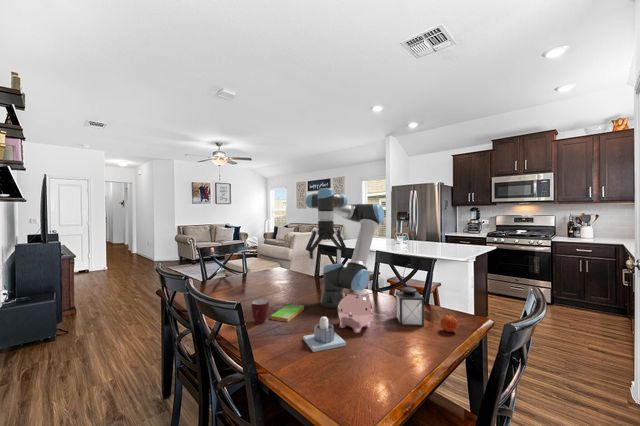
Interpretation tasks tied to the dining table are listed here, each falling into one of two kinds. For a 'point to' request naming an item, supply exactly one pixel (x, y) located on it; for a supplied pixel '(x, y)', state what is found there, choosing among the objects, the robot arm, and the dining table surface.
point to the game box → (287, 312)
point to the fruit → (449, 323)
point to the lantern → (409, 307)
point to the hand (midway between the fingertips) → (326, 264)
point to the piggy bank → (355, 311)
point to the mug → (260, 310)
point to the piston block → (323, 346)
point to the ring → (324, 334)
